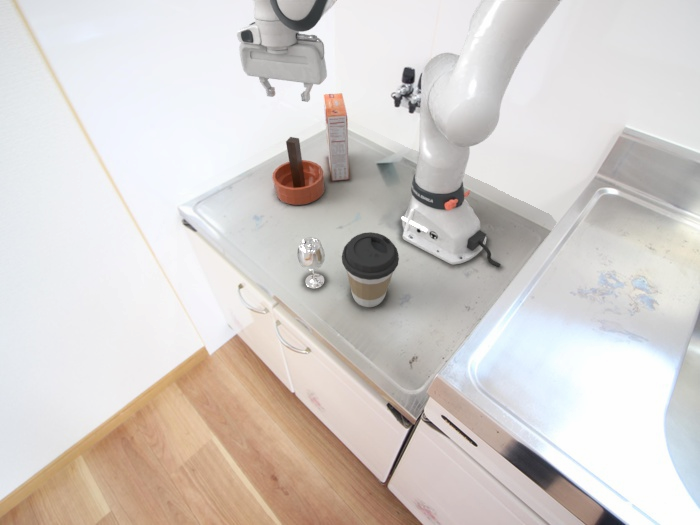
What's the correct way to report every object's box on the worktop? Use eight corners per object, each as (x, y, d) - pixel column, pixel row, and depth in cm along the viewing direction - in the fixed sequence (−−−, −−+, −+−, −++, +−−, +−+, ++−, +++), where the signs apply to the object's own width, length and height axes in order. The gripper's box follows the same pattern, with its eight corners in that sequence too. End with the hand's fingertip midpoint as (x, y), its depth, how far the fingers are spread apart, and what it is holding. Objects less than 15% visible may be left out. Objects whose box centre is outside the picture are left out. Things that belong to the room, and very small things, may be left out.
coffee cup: (404, 300, 76) (412, 254, 65) (361, 324, 72) (362, 280, 61) (374, 267, 82) (377, 221, 71) (334, 288, 78) (330, 242, 67)
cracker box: (327, 157, 115) (322, 93, 99) (345, 156, 115) (343, 92, 100) (330, 181, 106) (325, 115, 90) (349, 180, 106) (348, 113, 90)
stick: (305, 187, 103) (299, 138, 91) (301, 192, 101) (294, 143, 89) (297, 186, 103) (290, 136, 91) (294, 191, 102) (285, 141, 90)
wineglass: (299, 276, 81) (292, 240, 72) (322, 268, 82) (318, 232, 73) (307, 294, 77) (300, 258, 68) (330, 286, 79) (327, 250, 70)
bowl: (334, 192, 102) (333, 175, 98) (293, 213, 96) (290, 196, 92) (306, 171, 110) (304, 154, 105) (267, 189, 104) (263, 172, 99)
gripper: (328, 31, 72) (332, 98, 82) (245, 24, 77) (259, 88, 87) (316, 40, 68) (322, 109, 79) (229, 32, 73) (245, 98, 84)
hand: (288, 98), depth 83 cm, fingers open, 8 cm apart
